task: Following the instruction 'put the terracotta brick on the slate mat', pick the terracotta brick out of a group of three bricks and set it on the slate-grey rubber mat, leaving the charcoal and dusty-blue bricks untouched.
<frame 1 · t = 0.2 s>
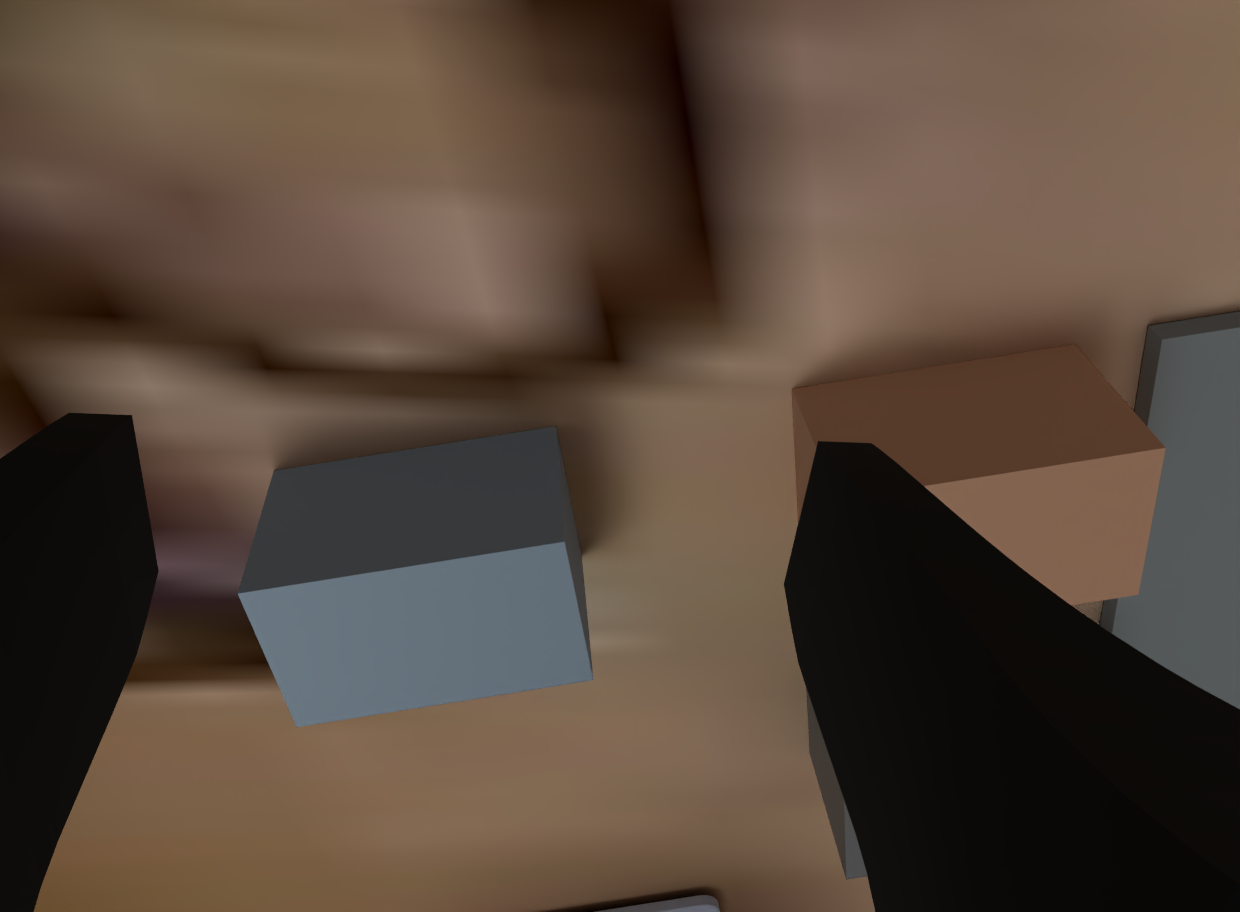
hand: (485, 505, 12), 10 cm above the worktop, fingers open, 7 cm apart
charcoal brick: (919, 686, 29), on the worktop
terracotta brick: (928, 433, 24), on the worktop
dusty-blue brick: (434, 511, 24), on the worktop
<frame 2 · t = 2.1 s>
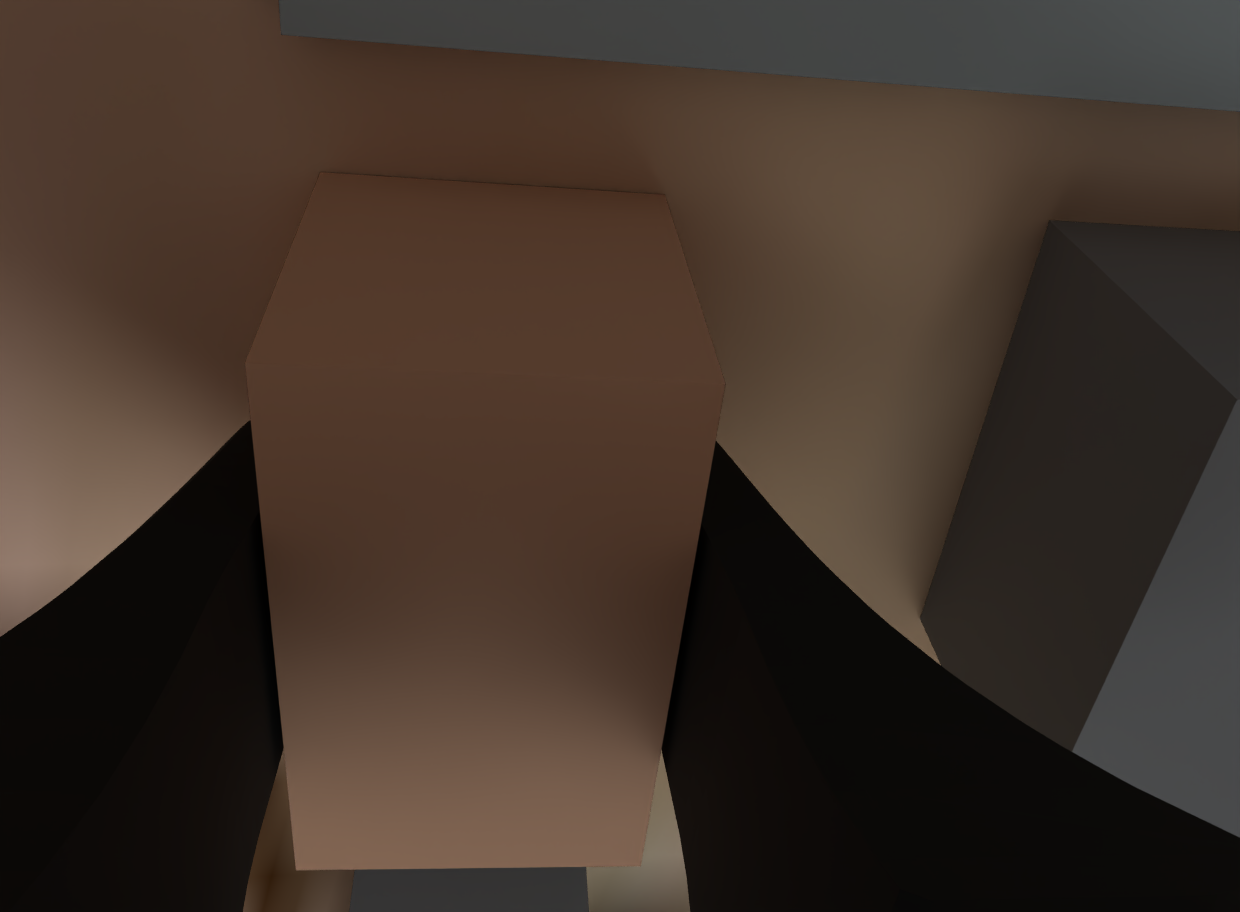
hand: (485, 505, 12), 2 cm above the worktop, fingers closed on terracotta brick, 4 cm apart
charcoal brick: (1105, 441, 14), on the worktop
terracotta brick: (486, 424, 13), on the worktop, touching gripper
when the fingers open (4 cm above the worktop, at t = 5.3 s): terracotta brick drops 2 cm, resting on slate mat.
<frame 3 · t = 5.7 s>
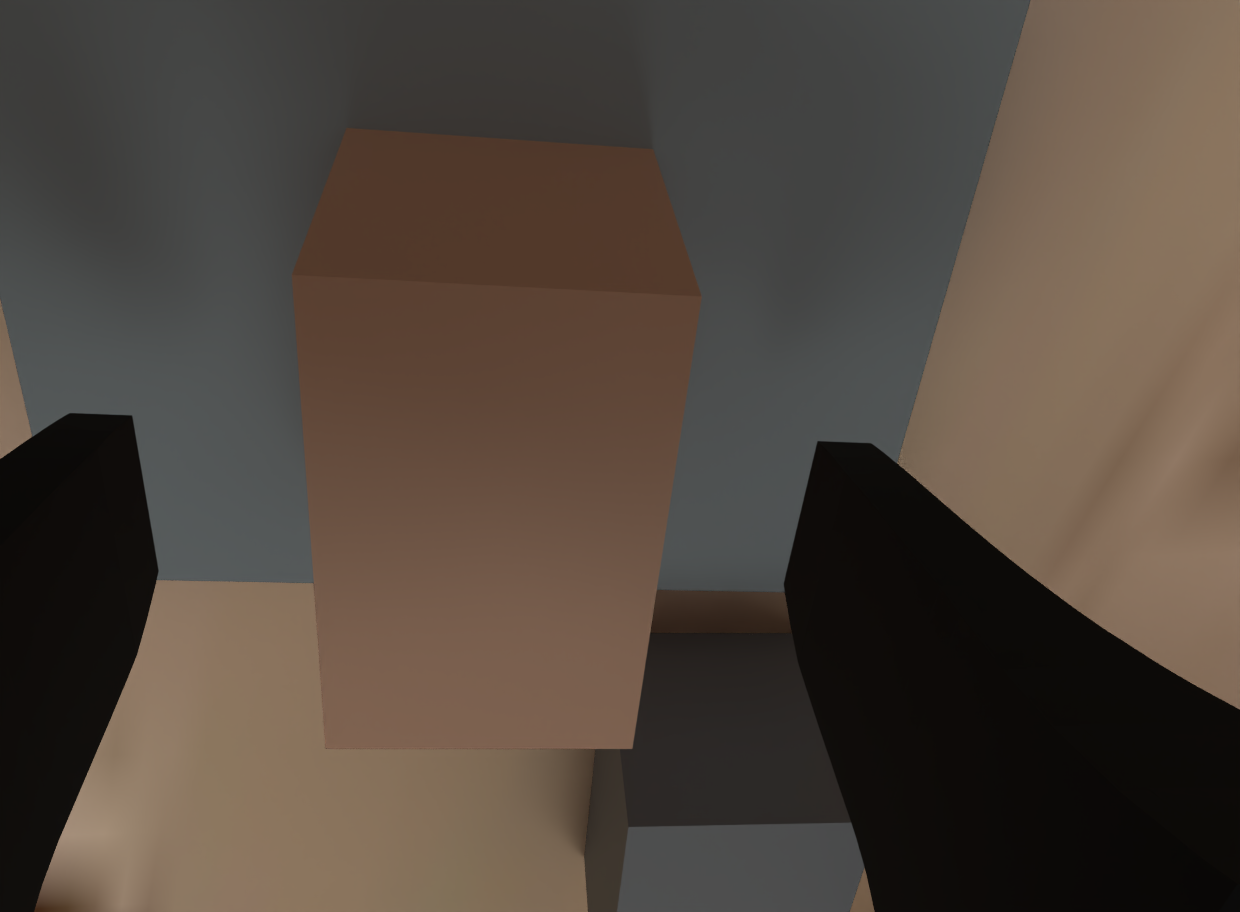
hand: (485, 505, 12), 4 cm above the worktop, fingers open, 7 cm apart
charcoal brick: (691, 748, 21), on the worktop
terracotta brick: (493, 361, 15), point 1 cm above the worktop, touching slate mat
slate mat: (490, 302, 15), on the worktop
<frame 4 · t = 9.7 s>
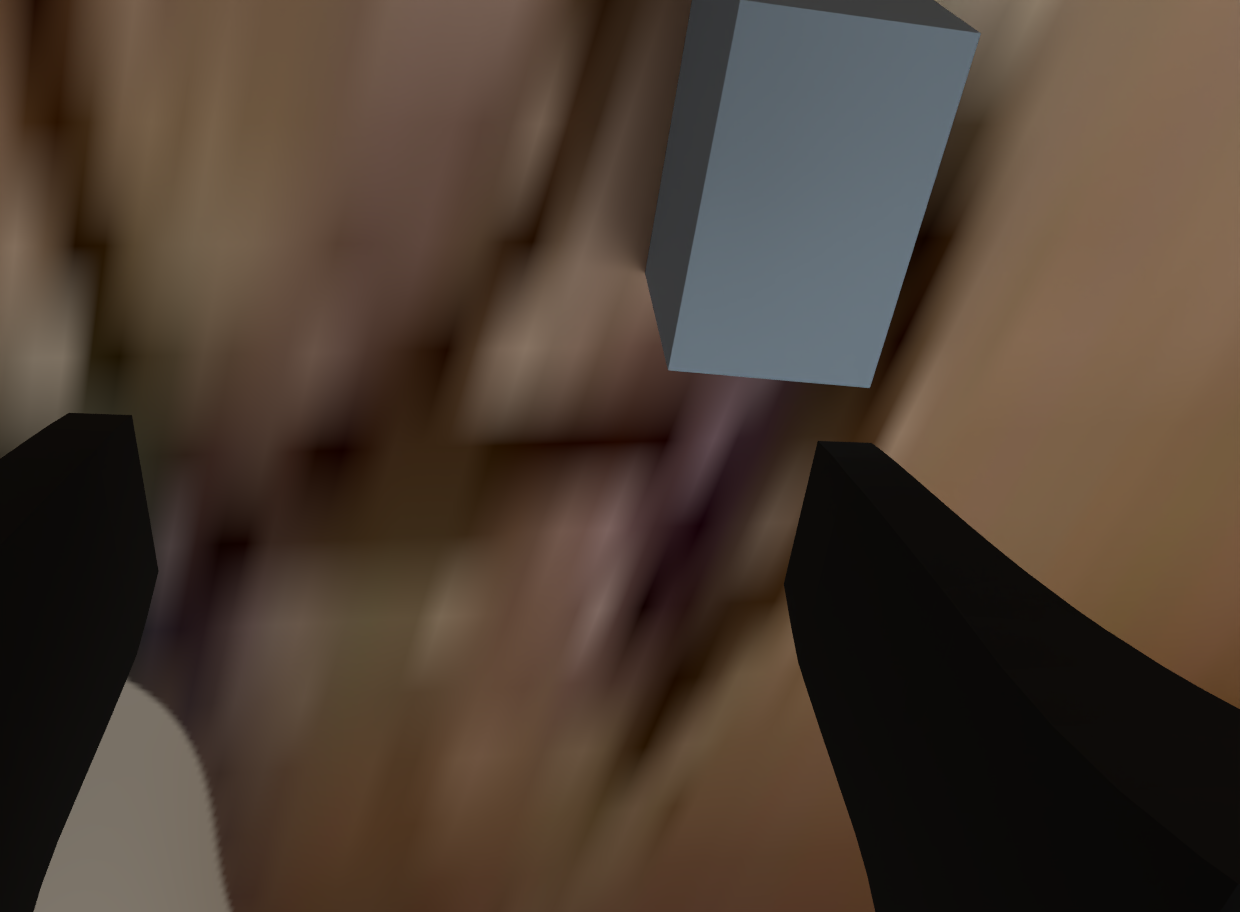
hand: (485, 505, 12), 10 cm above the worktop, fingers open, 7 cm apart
dusty-blue brick: (764, 133, 21), on the worktop
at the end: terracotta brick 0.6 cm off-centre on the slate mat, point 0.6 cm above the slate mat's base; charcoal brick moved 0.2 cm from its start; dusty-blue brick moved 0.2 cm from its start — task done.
